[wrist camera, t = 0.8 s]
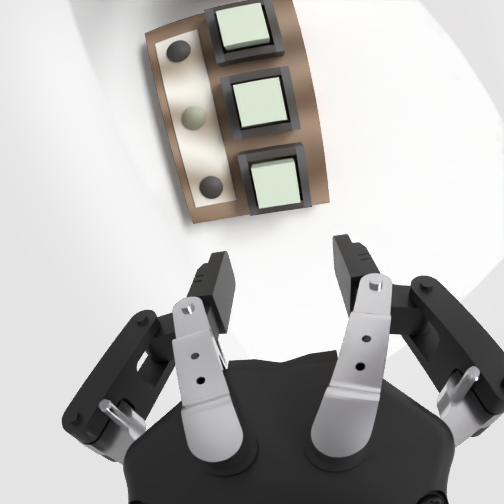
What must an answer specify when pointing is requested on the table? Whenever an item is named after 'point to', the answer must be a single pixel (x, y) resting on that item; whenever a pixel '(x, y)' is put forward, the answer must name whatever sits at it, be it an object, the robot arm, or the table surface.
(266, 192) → the button
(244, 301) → the table surface
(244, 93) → the button middle
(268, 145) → the button panel
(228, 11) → the button
